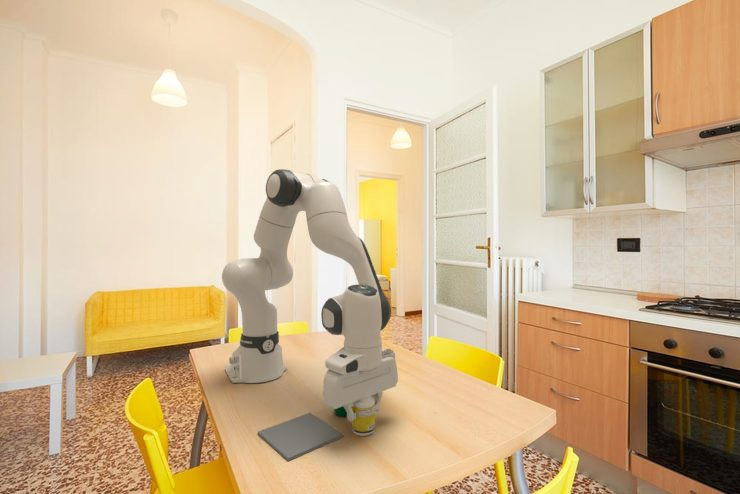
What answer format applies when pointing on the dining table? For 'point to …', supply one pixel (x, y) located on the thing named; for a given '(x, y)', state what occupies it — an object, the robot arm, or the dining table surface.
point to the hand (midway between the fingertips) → (363, 415)
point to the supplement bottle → (364, 415)
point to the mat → (299, 436)
